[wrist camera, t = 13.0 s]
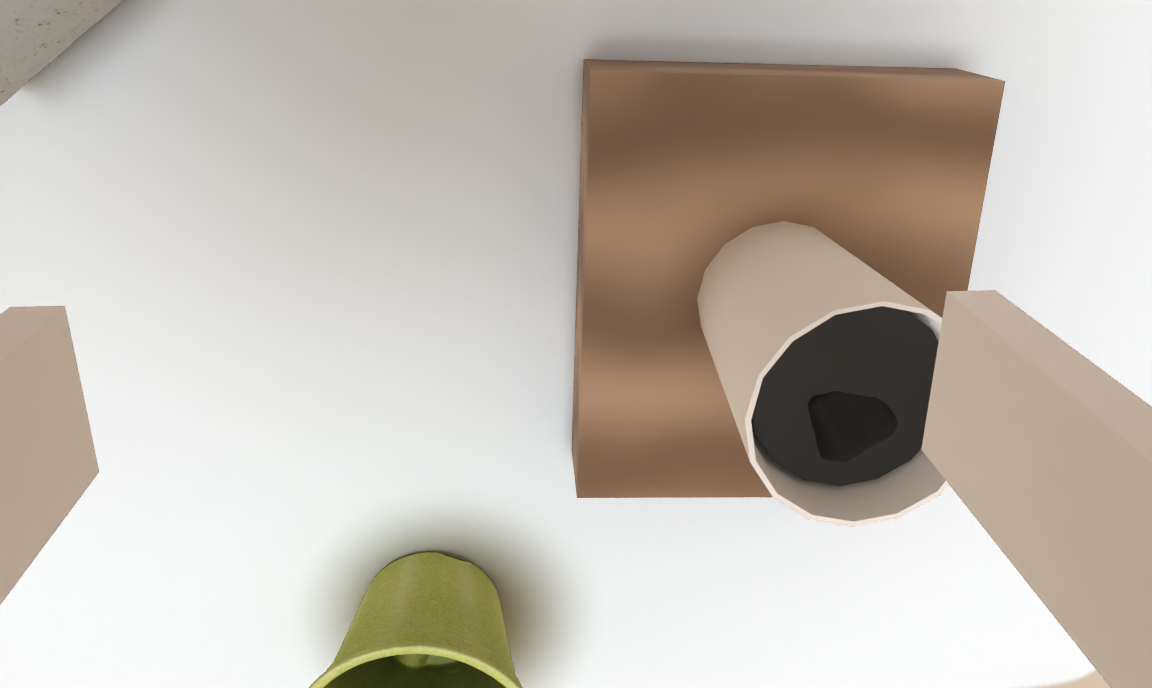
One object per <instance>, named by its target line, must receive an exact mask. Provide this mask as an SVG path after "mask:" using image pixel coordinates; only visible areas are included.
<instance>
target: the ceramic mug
mask: <svg viewBox="0 0 1152 688" xmlns="http://www.w3.org/2000/svg"><path fill="white" fill-rule="evenodd" d="M121 1H122V0H0V106H1V105H2V104H3V103H5V102H6V101H7V100H8V99H9V98H10V97H11V96H12V95H14V94H15V93H16V92H17V91H18V90H19V89H20V88H21V87H22V86H23V85H25V84H26V83H27V82H28V81H29V80H31V79H32V78H33V77H34V76H35V75H36V74H38V73H39V72H40V71H41V70H42V69H44V68H45V67H46V66H47V65H48V64H49V63H51V62H52V61H53V60H54V59H55V58H57V57H58V56H59V55H60V54H61V53H62V52H64V51H65V50H66V49H67V48H68V47H69V46H70V45H71V44H72V43H73V42H74V41H75V40H76V39H77V38H79V37H80V36H81V35H82V34H83V33H85V32H86V31H87V30H88V29H90V28H91V27H92V26H93V25H94V24H96V23H97V22H98V21H99V20H100V19H102V18H103V17H104V16H105V15H106V14H108V13H109V12H110V11H111V10H112V9H114V8H115V7H116V6H117V5H118V4H119V3H120V2H121Z"/></svg>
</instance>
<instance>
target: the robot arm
mask: <svg viewBox="0 0 1152 688" xmlns="http://www.w3.org/2000/svg"><path fill="white" fill-rule="evenodd" d="M921 450H922V451H923V452H924V453H925V455H926V456H927V457H928V458H929V460H930V461H931V462H932V464H933V465H934V466H935V467H936V469H937V470H938V471H939V472H940V474H941V475H942V476H943V477H944V479H945V480H946V481H947V482H948V484H949V485H950V486H951V487H952V489H953V490H954V491H955V492H956V494H957V495H958V496H959V497H960V499H961V500H962V501H963V503H964V504H965V505H966V506H967V508H968V509H969V510H970V511H971V513H972V514H973V515H974V516H975V518H976V519H977V520H978V521H979V523H980V524H981V525H982V526H983V528H984V529H985V530H986V531H987V533H988V534H989V535H990V536H991V538H992V539H993V540H994V542H995V543H996V544H997V545H998V547H999V548H1000V549H1001V550H1002V552H1003V553H1004V554H1005V555H1006V557H1007V558H1008V559H1009V560H1010V562H1011V563H1012V564H1013V565H1014V567H1015V568H1016V569H1017V570H1018V572H1019V573H1020V574H1021V575H1022V577H1023V578H1024V579H1025V580H1026V582H1027V583H1028V584H1029V586H1030V587H1031V588H1032V589H1033V591H1034V592H1035V593H1036V594H1037V596H1038V597H1039V598H1040V599H1041V601H1042V602H1043V603H1044V604H1045V606H1046V607H1047V608H1048V609H1049V611H1050V612H1051V613H1052V614H1053V616H1054V617H1055V618H1056V619H1057V621H1058V622H1059V623H1060V625H1061V626H1062V627H1063V628H1064V630H1065V631H1066V632H1067V633H1068V635H1069V636H1070V637H1071V638H1072V640H1073V641H1074V642H1075V643H1076V645H1077V646H1078V647H1079V648H1080V650H1081V651H1082V652H1083V653H1084V655H1085V656H1086V657H1087V658H1088V660H1089V661H1090V662H1091V664H1092V665H1093V666H1094V667H1095V669H1096V670H1097V671H1098V672H1099V674H1100V675H1101V676H1102V677H1103V679H1104V680H1105V681H1106V682H1107V683H1108V685H1109V686H1110V687H1111V688H1152V407H1151V406H1150V405H1149V404H1147V403H1146V402H1145V401H1143V400H1142V399H1141V398H1139V397H1138V396H1137V395H1135V394H1134V393H1132V392H1131V391H1130V390H1128V389H1127V388H1126V387H1124V386H1123V385H1122V384H1120V383H1119V382H1118V381H1116V380H1115V379H1114V378H1112V377H1111V376H1110V375H1108V374H1107V373H1106V372H1104V371H1103V370H1102V369H1100V368H1099V367H1098V366H1096V365H1095V364H1094V363H1092V362H1091V361H1089V360H1088V359H1087V358H1085V357H1084V356H1083V355H1081V354H1080V353H1079V352H1077V351H1076V350H1075V349H1073V348H1072V347H1071V346H1069V345H1068V344H1067V343H1065V342H1064V341H1063V340H1061V339H1060V338H1059V337H1057V336H1056V335H1055V334H1053V333H1052V332H1050V331H1049V330H1048V329H1046V328H1045V327H1044V326H1042V325H1041V324H1040V323H1038V322H1037V321H1036V320H1034V319H1033V318H1032V317H1030V316H1029V315H1028V314H1026V313H1025V312H1024V311H1022V310H1021V309H1020V308H1018V307H1017V306H1016V305H1014V304H1013V303H1012V302H1010V301H1009V300H1007V299H1006V298H1005V297H1003V296H1002V295H1001V294H999V293H998V292H997V291H995V290H990V291H947V293H946V299H945V305H944V312H943V318H942V324H941V330H940V337H939V343H938V349H937V355H936V361H935V368H934V374H933V380H932V386H931V393H930V399H929V405H928V411H927V417H926V424H925V430H924V436H923V442H922V449H921ZM98 473H99V469H98V464H97V459H96V454H95V449H94V444H93V440H92V435H91V430H90V425H89V420H88V415H87V411H86V406H85V401H84V396H83V391H82V386H81V381H80V377H79V372H78V367H77V362H76V357H75V352H74V348H73V343H72V338H71V333H70V328H69V323H68V319H67V314H66V309H65V306H37V307H10V308H8V309H7V310H6V311H4V312H3V313H2V314H1V315H0V605H1V603H2V602H3V601H4V599H5V598H6V597H7V595H8V594H9V593H10V591H11V590H12V589H13V587H14V586H15V584H16V583H17V582H18V580H19V579H20V578H21V576H22V575H23V574H24V572H25V571H26V570H27V568H28V567H29V566H30V564H31V563H32V562H33V560H34V559H35V558H36V556H37V555H38V554H39V552H40V551H41V549H42V548H43V547H44V545H45V544H46V543H47V541H48V540H49V539H50V537H51V536H52V535H53V533H54V532H55V531H56V529H57V528H58V527H59V525H60V524H61V523H62V521H63V520H64V518H65V517H66V516H67V514H68V513H69V512H70V510H71V509H72V508H73V506H74V505H75V504H76V502H77V501H78V500H79V498H80V497H81V496H82V494H83V493H84V492H85V490H86V489H87V487H88V486H89V485H90V483H91V482H92V481H93V479H94V478H95V477H96V475H97V474H98Z"/></svg>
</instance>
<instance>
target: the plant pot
mask: <svg viewBox="0 0 1152 688" xmlns="http://www.w3.org/2000/svg"><path fill="white" fill-rule="evenodd" d="M309 688H522V686H521V684H520V682H519V680H518V678H517V677H516V676H515V672H514V667H513V663H512V659H511V654H510V649H509V645H508V640H507V635H506V629H505V624H504V618H503V614H502V609H501V604H500V599H499V596H498V592H497V590H496V588H495V586H494V584H493V583H492V581H491V580H490V579H489V577H488V576H487V575H486V574H485V573H484V572H483V571H482V570H481V569H480V568H478V567H477V566H476V565H474V564H473V563H471V562H465V561H461V560H458V559H454V558H451V557H448V556H446V555H443V554H441V553H437V552H425V553H417V554H413V555H409V556H406V557H403V558H400V559H398V560H396V561H394V562H392V563H391V564H389V565H388V566H386V567H385V568H383V569H382V570H381V571H380V572H379V573H378V574H377V575H376V577H375V578H374V579H373V581H372V582H371V584H370V586H369V588H368V589H367V591H366V593H365V595H364V598H363V600H362V602H361V604H360V606H359V608H358V611H357V613H356V615H355V618H354V620H353V622H352V624H351V626H350V628H349V630H348V633H347V635H346V637H345V639H344V641H343V643H342V645H341V648H340V650H339V652H338V654H337V656H336V658H335V660H334V662H333V664H332V665H331V666H330V667H329V668H328V669H327V670H326V672H324V673H323V674H322V675H321V676H320V677H319V678H318V679H317V680H316V681H315V682H314V683H313V684H312V685H311V686H310V687H309Z"/></svg>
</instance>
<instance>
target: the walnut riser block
mask: <svg viewBox="0 0 1152 688" xmlns="http://www.w3.org/2000/svg"><path fill="white" fill-rule="evenodd" d="M1004 85H1005V81H1002V80H998V79H994V78H990V77H986V76H982V75H979V74H975V73H971V72H967V71H963V70H959V69H945V68H905V67H864V66H824V65H783V64H743V63H702V62H662V61H621V60H584V67H583V100H582V132H581V165H580V197H579V229H578V262H577V294H576V327H575V359H574V392H573V424H572V457H573V466H574V474H575V483H576V492H577V498H641V497H772V495H771V494H770V492H769V490H768V489H767V487H766V486H765V484H764V483H763V481H762V480H761V478H760V477H759V475H758V474H757V472H756V471H755V469H754V467H753V466H752V464H751V463H750V461H749V458H748V455H747V452H746V450H745V447H744V444H743V441H742V438H741V436H740V433H739V430H738V427H737V425H736V422H735V419H734V416H733V414H732V411H731V408H730V405H729V403H728V400H727V397H726V394H725V392H724V389H723V386H722V383H721V381H720V378H719V375H718V372H717V370H716V367H715V364H714V361H713V358H712V356H711V353H710V350H709V347H708V345H707V342H706V339H705V336H704V334H703V331H702V329H701V323H700V316H699V309H698V301H697V298H698V294H699V291H700V287H701V283H702V280H703V276H704V273H705V269H706V268H707V267H708V265H709V264H710V263H711V261H712V260H713V259H714V258H715V256H716V255H717V254H718V252H719V251H720V250H721V248H722V247H723V246H724V244H726V243H727V242H729V241H731V240H732V239H734V238H735V237H737V236H739V235H740V234H742V233H744V232H745V231H747V230H748V229H750V228H752V227H755V226H760V225H766V224H771V223H776V222H782V221H786V222H791V223H796V224H801V225H806V226H811V227H815V228H816V229H818V230H819V231H820V232H822V233H823V234H824V235H826V236H827V237H829V238H830V239H831V240H833V241H834V242H836V243H837V244H838V245H840V246H841V247H843V248H844V249H845V250H847V251H848V252H850V253H851V254H852V255H854V256H855V257H857V258H858V259H859V260H861V261H862V262H864V263H865V264H866V265H868V266H869V267H871V268H872V269H874V270H875V271H876V272H878V273H879V274H881V275H882V276H883V277H885V278H886V279H888V280H889V281H890V282H892V283H893V284H895V285H896V286H897V287H899V288H900V289H902V290H903V291H904V292H906V293H907V294H909V295H910V296H912V297H913V298H914V299H916V300H917V301H919V302H920V303H921V304H923V305H924V306H926V307H927V308H928V309H930V310H931V311H933V312H934V313H935V314H937V315H938V316H940V317H941V318H943V312H944V305H945V299H946V293H947V291H967V289H968V284H969V278H970V273H971V267H972V262H973V256H974V251H975V245H976V239H977V234H978V228H979V223H980V217H981V212H982V206H983V201H984V195H985V190H986V184H987V179H988V173H989V168H990V162H991V156H992V151H993V145H994V140H995V134H996V129H997V123H998V118H999V112H1000V107H1001V101H1002V96H1003V90H1004Z"/></svg>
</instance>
